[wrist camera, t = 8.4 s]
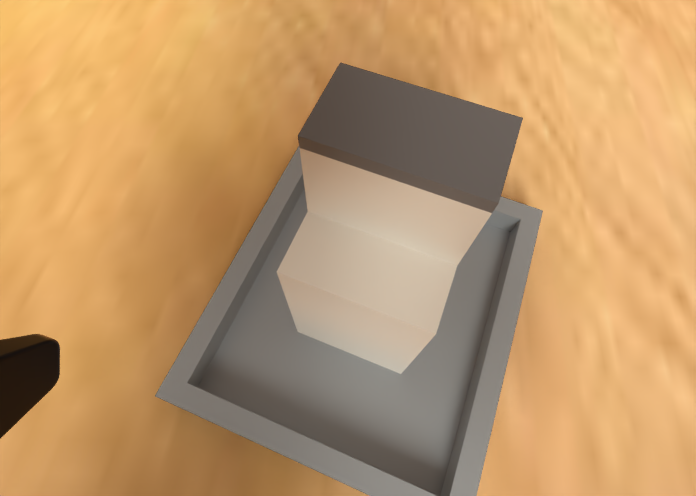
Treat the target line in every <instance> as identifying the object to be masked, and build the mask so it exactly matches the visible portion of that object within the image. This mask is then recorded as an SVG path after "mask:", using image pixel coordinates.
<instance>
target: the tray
mask: <svg viewBox="0 0 696 496" xmlns="http://www.w3.org/2000/svg"><path fill="white" fill-rule="evenodd" d="M307 212H308V210H307V203H306V195H305V187H304V179H303V171H302V164H301V156H300V148H299V147H298V148H297V150H296V152H295V154H294V155H293V157H292V159H291V161H290V162H289V164H288V166H287V167H286V169H285V171H284V173H283V174H282V176H281V178H280V180H279V181H278V183H277V185H276V187H275V188H274V190H273V192H272V194H271V195H270V197H269V199H268V200H267V202H266V204H265V206H264V207H263V209H262V211H261V213H260V214H259V216H258V218H257V220H256V221H255V223H254V225H253V227H252V228H251V230H250V232H249V233H248V235H247V237H246V239H245V240H244V242H243V244H242V246H241V247H240V249H239V251H238V253H237V254H236V256H235V258H234V260H233V261H232V263H231V265H230V266H229V268H228V270H227V272H226V273H225V275H224V277H223V279H222V280H221V282H220V284H219V286H218V287H217V289H216V291H215V293H214V294H213V296H212V298H211V300H210V301H209V303H208V305H207V306H206V308H205V310H204V312H203V313H202V315H201V317H200V319H199V320H198V322H197V324H196V326H195V327H194V329H193V331H192V333H191V334H190V336H189V338H188V339H187V341H186V343H185V345H184V346H183V348H182V350H181V352H180V353H179V355H178V357H177V359H176V360H175V362H174V364H173V366H172V367H171V369H170V371H169V372H168V374H167V376H166V378H165V379H164V381H163V383H162V385H161V386H160V388H159V390H158V392H157V393H156V395H155V396H156V397H158V398H160V399H162V400H164V401H167V402H169V403H171V404H173V405H175V406H177V407H180V408H182V409H184V410H186V411H188V412H190V413H193V414H195V415H197V416H199V417H201V418H203V419H206V420H208V421H210V422H212V423H214V424H216V425H219V426H221V427H223V428H225V429H227V430H229V431H231V432H234V433H236V434H238V435H240V436H242V437H244V438H247V439H249V440H251V441H253V442H255V443H257V444H260V445H262V446H264V447H266V448H268V449H270V450H273V451H275V452H277V453H279V454H281V455H283V456H285V457H288V458H290V459H292V460H294V461H296V462H298V463H301V464H303V465H305V466H307V467H309V468H311V469H314V470H316V471H318V472H320V473H322V474H324V475H327V476H329V477H331V478H333V479H335V480H337V481H340V482H342V483H344V484H346V485H348V486H350V487H352V488H355V489H357V490H359V491H361V492H363V493H365V494H368V495H370V496H476V495H477V491H478V487H479V482H480V478H481V474H482V469H483V465H484V461H485V456H486V452H487V448H488V444H489V439H490V435H491V431H492V426H493V422H494V418H495V414H496V409H497V405H498V401H499V396H500V392H501V388H502V384H503V379H504V375H505V371H506V366H507V362H508V358H509V354H510V349H511V345H512V341H513V336H514V332H515V328H516V324H517V319H518V315H519V311H520V306H521V302H522V298H523V293H524V289H525V285H526V281H527V276H528V272H529V268H530V263H531V259H532V255H533V251H534V246H535V242H536V238H537V233H538V229H539V225H540V221H541V216H542V212H543V211H542V210H539V209H536V208H534V207H531V206H528V205H525V204H522V203H519V202H516V201H513V200H510V199H507V198H504V197H500V200H499V204H498V205H497V207H496V208H495V210H494V211H493V213H492V214H491V216H490V217H489V219H488V220H487V222H486V223H485V225H484V226H483V228H482V229H481V231H480V232H479V234H478V235H477V237H476V238H475V240H474V241H473V243H472V244H471V246H470V247H469V249H468V250H467V252H466V253H465V255H464V256H463V258H462V259H461V261H460V262H459V264H458V265H457V268H456V272H455V275H454V278H453V281H452V284H451V288H450V291H449V294H448V297H447V300H446V304H445V307H444V310H443V313H442V317H441V320H440V323H439V326H438V329H437V333H436V335H435V336H434V337H433V338H432V339H431V340H430V342H429V343H428V344H427V345H426V346H425V347H424V348H423V350H422V351H421V352H420V353H419V354H418V355H417V356H416V358H415V359H414V360H413V361H412V362H411V363H410V364H409V366H408V367H407V368H406V369H405V370H404V371H403V372H402V374H399V373H397V372H395V371H392V370H390V369H387V368H385V367H382V366H380V365H377V364H375V363H373V362H370V361H368V360H365V359H363V358H360V357H358V356H355V355H353V354H351V353H348V352H346V351H343V350H341V349H338V348H336V347H333V346H331V345H329V344H326V343H324V342H321V341H319V340H316V339H314V338H311V337H309V336H307V335H304V334H302V333H299V332H298V331H297V329H296V326H295V323H294V320H293V317H292V314H291V312H290V309H289V306H288V303H287V300H286V297H285V294H284V292H283V289H282V286H281V283H280V280H279V277H278V275H277V270H278V268H279V266H280V264H281V262H282V261H283V259H284V257H285V255H286V253H287V251H288V249H289V247H290V245H291V243H292V241H293V239H294V237H295V235H296V233H297V231H298V229H299V227H300V225H301V223H302V222H303V220H304V218H305V216H306V214H307Z"/></svg>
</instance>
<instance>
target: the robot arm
mask: <svg viewBox="0 0 696 496" xmlns="http://www.w3.org/2000/svg"><path fill="white" fill-rule="evenodd" d="M59 374H60V346H59V343H58V342H57V341H56V340H54V339H52V338H49V337H46V336H44V335H40V334H32V335H27V336H21V337H15V338H9V339H3V340H0V438H1V437H2V436H3V435H5V434H6V433H7V432H8V431H9V430H10V429H11V428H12V427H13V426H14V425H15V424H16V423H17V422H18V421H19V420H20V419H21V418H22V417H23V416H24V415H25V414H26V413H27V412H28V411H29V410H30V409H31V408H32V407H33V406H35V405H36V404H37V403H38V402H39V401H40V400H41V399H42V398H43V397H44V396H45V395H46V394H47V393H48V392H49V391H50V390H51V389H52V388H53V387H54V386H55V384H56V383H57V381H58V378H59Z"/></svg>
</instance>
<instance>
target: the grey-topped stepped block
mask: <svg viewBox="0 0 696 496" xmlns="http://www.w3.org/2000/svg"><path fill="white" fill-rule="evenodd" d="M522 119H523V118H521V117H518V116H515V115H511V114H508V113H505V112H501V111H498V110H495V109H492V108H488V107H485V106H482V105H478V104H475V103H472V102H469V101H465V100H462V99H459V98H455V97H452V96H449V95H446V94H442V93H439V92H436V91H432V90H429V89H426V88H423V87H419V86H416V85H413V84H409V83H406V82H403V81H399V80H396V79H393V78H390V77H386V76H383V75H380V74H376V73H373V72H370V71H367V70H363V69H360V68H357V67H353V66H350V65H347V64H344V63H340V64H339V66H338V67H337V69H336V71H335V72H334V74H333V76H332V78H331V79H330V81H329V83H328V85H327V86H326V88H325V90H324V91H323V93H322V95H321V97H320V98H319V100H318V102H317V104H316V105H315V107H314V109H313V111H312V112H311V114H310V116H309V117H308V119H307V121H306V123H305V124H304V126H303V128H302V130H301V131H300V133H299V135H298V140H299V148H300V156H301V164H302V171H303V179H304V187H305V195H306V203H307V210H308V212H307V214H306V216H305V218H304V220H303V222H302V223H301V225H300V227H299V229H298V231H297V233H296V235H295V237H294V239H293V241H292V243H291V245H290V247H289V249H288V251H287V253H286V255H285V257H284V259H283V261H282V262H281V264H280V266H279V268H278V270H277V275H278V277H279V280H280V283H281V286H282V289H283V292H284V294H285V297H286V300H287V303H288V306H289V309H290V312H291V314H292V317H293V320H294V323H295V326H296V329H297V331H298V332H299V333H302V334H304V335H307V336H309V337H311V338H314V339H316V340H319V341H321V342H324V343H326V344H329V345H331V346H333V347H336V348H338V349H341V350H343V351H346V352H348V353H351V354H353V355H355V356H358V357H360V358H363V359H365V360H368V361H370V362H373V363H375V364H377V365H380V366H382V367H385V368H387V369H390V370H392V371H395V372H397V373H399V374H402V372H403V371H404V370H405V369H406V368H407V367H408V366H409V364H410V363H411V362H412V361H413V360H414V359H415V358H416V356H417V355H418V354H419V353H420V352H421V351H422V350H423V348H424V347H425V346H426V345H427V344H428V343H429V342H430V340H431V339H432V338H433V337H434V336H435V335H436V333H437V329H438V326H439V323H440V320H441V317H442V313H443V310H444V307H445V304H446V300H447V297H448V294H449V291H450V288H451V284H452V281H453V278H454V275H455V272H456V268H457V265H458V264H459V262H460V261H461V259H462V258H463V256H464V255H465V253H466V252H467V250H468V249H469V247H470V246H471V244H472V243H473V241H474V240H475V238H476V237H477V235H478V234H479V232H480V231H481V229H482V228H483V226H484V225H485V223H486V222H487V220H488V219H489V217H490V216H491V214H492V213H493V211H494V210H495V208H496V207H497V205H498V204H499V200H500V197H501V193H502V190H503V186H504V183H505V179H506V176H507V172H508V169H509V165H510V162H511V158H512V155H513V151H514V148H515V144H516V141H517V137H518V134H519V130H520V126H521V123H522Z"/></svg>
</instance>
